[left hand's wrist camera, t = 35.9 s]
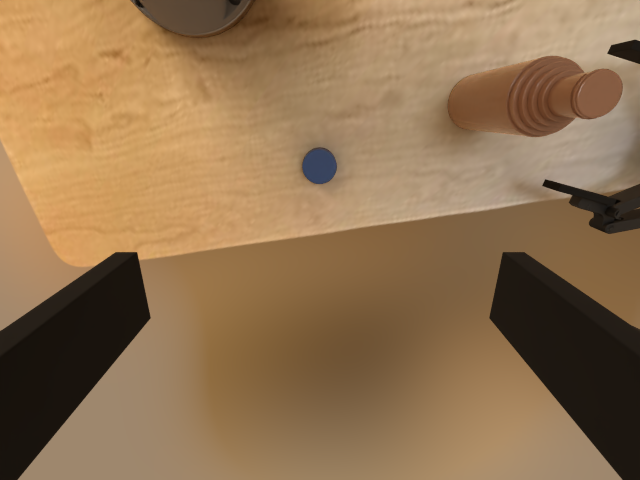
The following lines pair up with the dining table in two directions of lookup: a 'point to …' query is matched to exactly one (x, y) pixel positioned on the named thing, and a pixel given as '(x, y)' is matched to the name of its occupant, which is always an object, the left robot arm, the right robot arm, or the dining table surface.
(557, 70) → the bottle
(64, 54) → the dining table surface
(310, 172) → the cap
